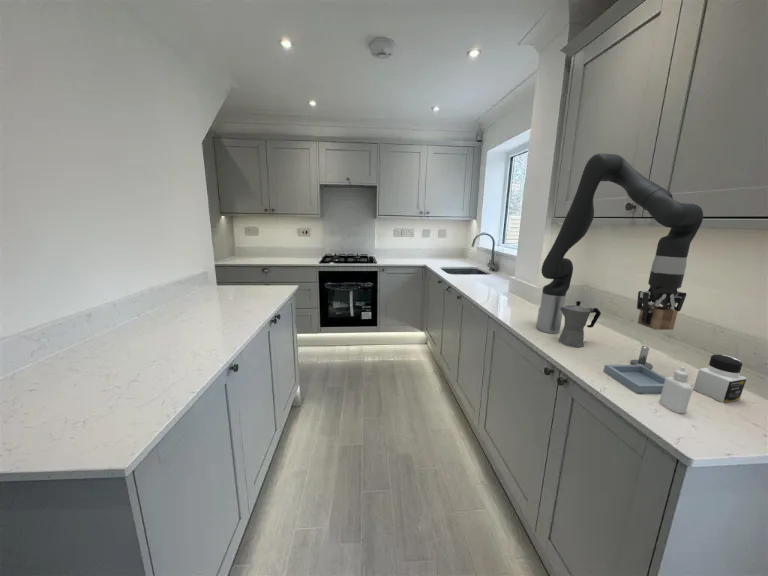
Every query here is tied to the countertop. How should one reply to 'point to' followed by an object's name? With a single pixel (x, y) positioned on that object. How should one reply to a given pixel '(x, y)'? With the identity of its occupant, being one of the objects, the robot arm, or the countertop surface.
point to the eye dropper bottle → (676, 392)
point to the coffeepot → (576, 324)
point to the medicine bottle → (721, 379)
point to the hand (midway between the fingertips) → (655, 323)
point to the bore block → (661, 318)
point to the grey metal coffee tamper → (642, 358)
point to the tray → (637, 378)
